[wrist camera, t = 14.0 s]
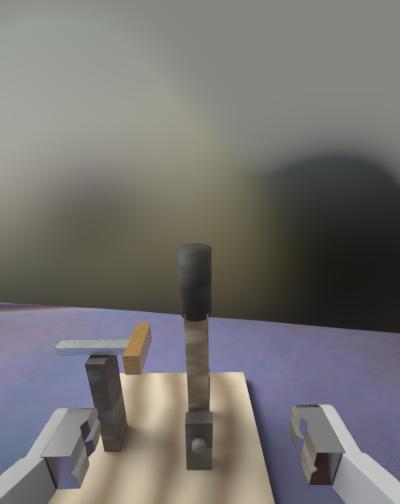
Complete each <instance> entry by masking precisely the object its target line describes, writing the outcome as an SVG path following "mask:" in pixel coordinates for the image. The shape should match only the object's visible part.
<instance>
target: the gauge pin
mask: <svg viewBox="0 0 400 504" xmlns="http://www.w3.org/2000/svg"><path fill="white" fill-rule="evenodd" d="M150 343H151V329H150V324H136V327H135V329H134V331H133V334H132V336H131V338H130V340H62V341H61V342H60V343H59V344H58V345H57V346H56V347H55V351H56V354H57V356H74V355H123V362H124V369H125V375H141V374H142V370H143V367H144V364H145V360H146V357H147V354H148V350H149V347H150Z"/></svg>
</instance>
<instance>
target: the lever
mask: <svg viewBox="0 0 400 504" xmlns="http://www.w3.org/2000/svg"><path fill="white" fill-rule="evenodd" d="M177 251H178V269H179V286H180V305H181V315H182V317H183V318H184V328H185V348H186V369H187V389H188V409H189V412H209V359H208V318H209V317H210V316H211V310H212V307H211V306H212V304H211V303H212V301H211V297H212V295H211V247H210V246H209V245H206V244H186V245H182V246H180V247H178V249H177Z"/></svg>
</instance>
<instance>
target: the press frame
mask: <svg viewBox="0 0 400 504" xmlns="http://www.w3.org/2000/svg"><path fill="white" fill-rule="evenodd" d="M85 367H86V371H87V376H88V380H89V385H90V389H91V394H92V398H93V403H94V408H97V412H98V415H97V418H96V419H97V420H99V421H100V425H101V432H100V437H99V441H98V444H97V447H96V450H95V451H94V452H93V453H92V454H91V455H90V456H89V457H88V458H89V464H90V465H89V468H88V470H87V473H86V475H85V478H84V481H83V483H82V486H81V488H80V489H62V490H56V493H55V494H54V495H53V497H52V498H51V500H50V502H49V504H275V503H274V498H273V494H272V490H271V486H270V482H269V477H268V473H267V469H266V465H265V461H264V456H263V452H262V448H261V444H260V440H259V435H258V431H257V427H256V423H255V419H254V414H253V410H252V406H251V402H250V398H249V393H248V389H247V385H246V381H245V377H244V373H243V372H228V373H210V369H209V412H189V409H188V389H187V373H142V374H141V375H125V373H119V367H118V361H117V355H90V357H89V359H88V360H87V362H86V363H85Z"/></svg>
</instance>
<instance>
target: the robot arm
mask: <svg viewBox="0 0 400 504" xmlns="http://www.w3.org/2000/svg"><path fill="white" fill-rule="evenodd" d="M292 413H293V417H292V418H291V419H290V433H291V437H292V441H293V443H294V446H295V448H296V449H297V450H298V451H299V452H300V453H301V454H302V455H301V460H300V463H301V465H302V468H303V471H304V473H305V476H306V479H307V481H308V484H309V485H333V486H332V487H333V488H334V490H335V491H336V492H337V493H338V495H339V496H340V497H341V498H342V499H343V501H344V502H345V503H346V504H400V482H399V481H398V480H397V479H396V478H394V477H393V476H392V475H391V474H390V473H389V472H387V471H386V470H385V469H384V468H383V467H382V466H380V465H379V464H378V463H377V462H376V461H375V460H373V459H372V458H371V457H370V456H369V455H368V454H366V453H362V452H361V451H360V449H359V447H358V446H357V444H356V443H355V441H354V439H353V438H352V436H351V434H350V433H349V431H348V430H347V428H346V426H345V425H344V423H343V421H342V420H341V418H340V417H339V415H338V413H337V412H336V410H335V408H334V407H333V406H332V405H329V404H328V405H317V404H315V405H294V406H293V407H292ZM97 415H98V412H97V408H58V409H57V410H56V411H55V412H54V413H53V414H52V416H51V417H50V419H49V421H48V422H47V424H46V425H45V427H44V429H43V430H42V432H41V433H40V435H39V436H38V438H37V440H36V441H35V443H34V444H33V446H32V448H31V449H30V451H29V452H28V454H27V455H26V457H25V458H20V459H19V460H18V461H17V462H16V463H15V464H13V465H12V466H11V467H10V468H9V469H8V470H6V471H5V472H4V473H3V474H2V475H0V504H47V503H48V501H49V500H50V499H51V498H52V497H53V495H54V494H55V493H56V490H62V489H80V488H81V486H82V483H83V481H84V478H85V475H86V473H87V470H88V468H89V465H90V464H89V458H88V457H89V456H90V455H91V454H92V453H93V452H94V451H95V450H96V447H97V444H98V441H99V437H100V432H101V425H100V421H99V420H97V419H96V418H97Z"/></svg>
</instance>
